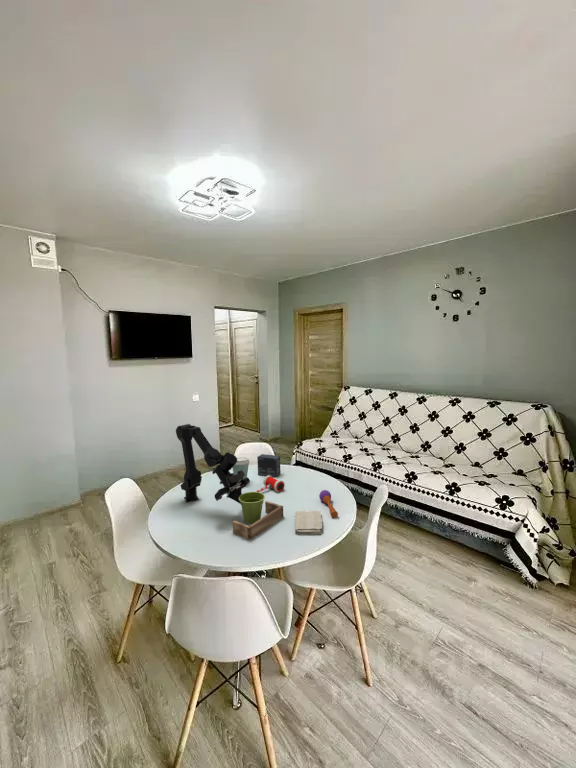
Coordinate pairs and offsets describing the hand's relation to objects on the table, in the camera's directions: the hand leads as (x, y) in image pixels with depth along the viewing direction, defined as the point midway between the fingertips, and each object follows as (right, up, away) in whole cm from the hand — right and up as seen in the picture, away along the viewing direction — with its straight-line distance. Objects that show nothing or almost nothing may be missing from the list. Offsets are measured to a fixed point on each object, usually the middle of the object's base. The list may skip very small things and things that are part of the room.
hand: (242, 503), depth 148 cm
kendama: (+41, -6, +10) cm, 42 cm away
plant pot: (+5, -7, -1) cm, 9 cm away
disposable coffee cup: (-7, -4, +42) cm, 43 cm away
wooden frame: (+8, -7, -5) cm, 12 cm away
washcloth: (+30, -8, -5) cm, 31 cm away
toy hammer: (+9, -5, +30) cm, 31 cm away
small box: (+9, -2, +55) cm, 56 cm away
